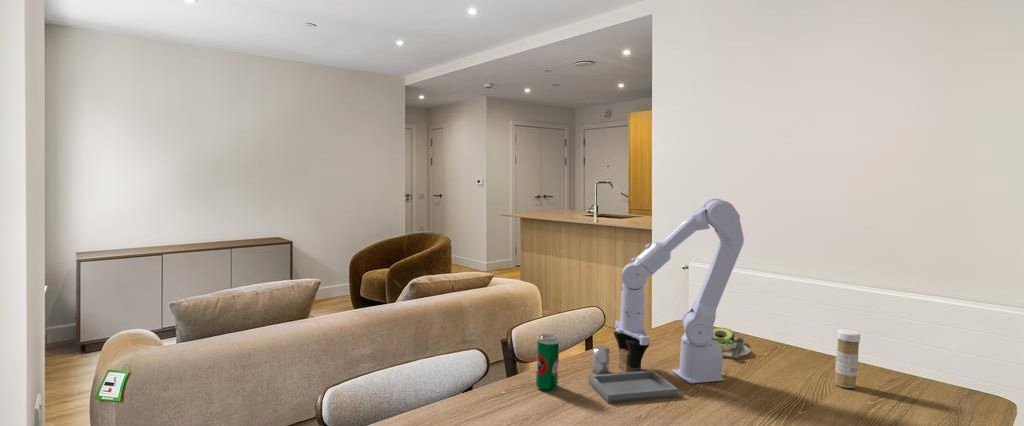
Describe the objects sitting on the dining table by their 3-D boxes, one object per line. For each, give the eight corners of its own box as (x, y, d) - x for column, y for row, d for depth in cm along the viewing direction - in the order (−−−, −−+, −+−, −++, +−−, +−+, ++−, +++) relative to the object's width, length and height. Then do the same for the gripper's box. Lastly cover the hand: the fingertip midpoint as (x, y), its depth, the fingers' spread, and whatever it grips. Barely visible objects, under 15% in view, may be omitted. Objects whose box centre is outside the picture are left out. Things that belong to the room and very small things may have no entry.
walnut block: (633, 366, 135) (634, 347, 135) (640, 372, 131) (641, 353, 131) (618, 367, 134) (619, 348, 134) (626, 373, 130) (626, 354, 130)
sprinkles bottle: (847, 382, 128) (852, 328, 127) (860, 390, 124) (865, 334, 123) (829, 381, 128) (833, 328, 127) (841, 389, 124) (846, 334, 122)
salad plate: (766, 364, 140) (767, 348, 139) (698, 362, 140) (699, 345, 140) (738, 340, 159) (739, 326, 158) (678, 338, 160) (679, 323, 159)
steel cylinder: (604, 368, 133) (605, 345, 133) (611, 374, 129) (612, 351, 129) (589, 369, 132) (590, 346, 132) (596, 376, 128) (597, 352, 128)
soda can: (556, 393, 118) (558, 341, 117) (534, 390, 119) (535, 339, 118) (558, 384, 123) (560, 334, 122) (537, 381, 124) (539, 332, 123)
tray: (653, 377, 128) (653, 370, 128) (677, 396, 118) (678, 388, 118) (588, 382, 124) (588, 375, 124) (607, 403, 114) (608, 395, 113)
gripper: (605, 304, 137) (603, 354, 139) (631, 320, 123) (628, 376, 125) (630, 303, 139) (627, 352, 140) (658, 318, 125) (655, 373, 126)
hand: (629, 363), depth 133 cm, fingers open, 5 cm apart
